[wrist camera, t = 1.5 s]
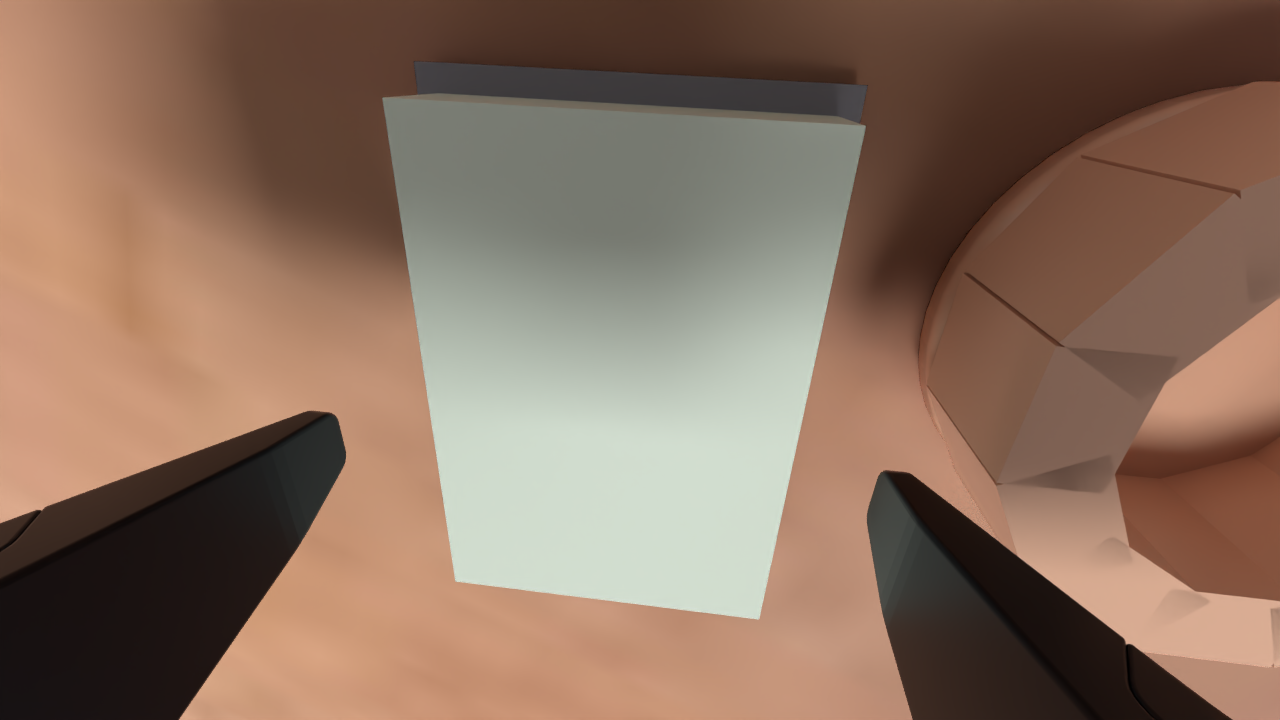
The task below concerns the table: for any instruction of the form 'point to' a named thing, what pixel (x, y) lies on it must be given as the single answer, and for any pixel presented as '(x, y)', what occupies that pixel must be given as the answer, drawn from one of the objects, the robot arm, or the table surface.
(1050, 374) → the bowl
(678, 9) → the table surface
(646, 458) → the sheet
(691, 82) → the mat
